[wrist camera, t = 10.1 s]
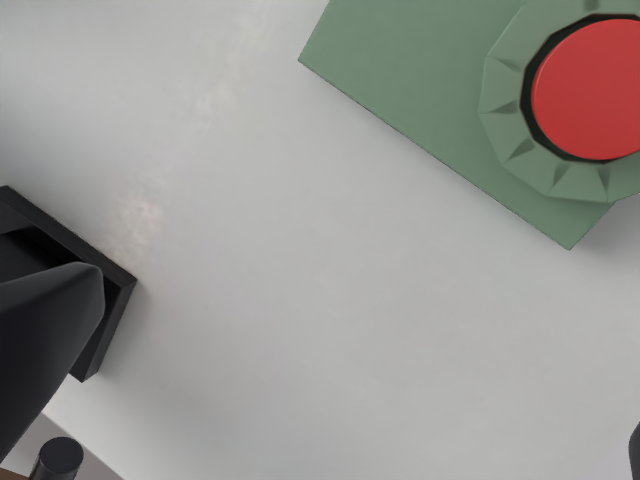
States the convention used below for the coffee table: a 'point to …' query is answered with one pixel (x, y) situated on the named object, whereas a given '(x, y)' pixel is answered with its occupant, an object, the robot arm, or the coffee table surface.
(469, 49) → the control box
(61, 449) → the lever
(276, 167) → the coffee table surface
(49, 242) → the bracket
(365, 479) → the coffee table surface
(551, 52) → the button
